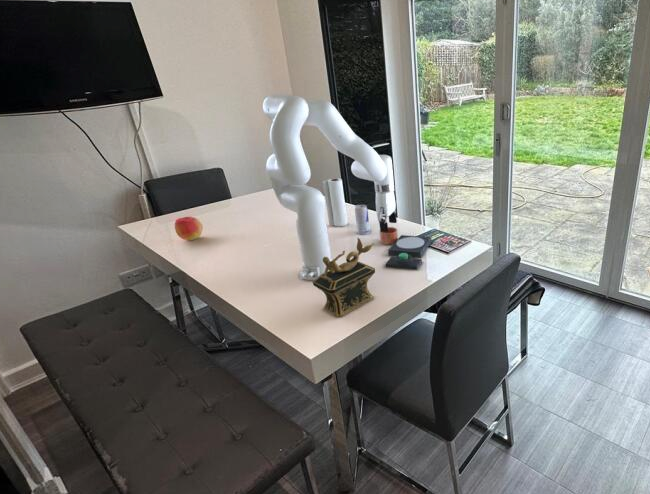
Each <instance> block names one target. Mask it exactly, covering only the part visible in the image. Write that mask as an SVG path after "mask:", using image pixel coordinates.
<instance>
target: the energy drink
mask: <svg viewBox="0 0 650 494" xmlns="http://www.w3.org/2000/svg"><path fill="white" fill-rule="evenodd" d="M354 215H355V224H356V230H357V234H359V235H367V234H369V233H370V232H371V228H370V227H371V226H370V219H369V209H368V206H367V204H356V205H355V206H354Z"/></svg>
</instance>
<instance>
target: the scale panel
mask: <svg viewBox="0 0 650 494" xmlns="http://www.w3.org/2000/svg"><path fill="white" fill-rule="evenodd" d="M422 263H423V259H421V258H414V257H412V256H411V255H409V254H408V259H406V260H400V259H399V255H398V256H390V257H389V259H388V260H387V261H386V262H385V268H392V269H402V270H403V269H404V270H415V271H417V270H418V269H419V268H420V266H421V265H422Z"/></svg>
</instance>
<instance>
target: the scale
mask: <svg viewBox="0 0 650 494" xmlns="http://www.w3.org/2000/svg"><path fill="white" fill-rule="evenodd" d="M431 244H432V237H431V236H421V235H420V236H418V235H405V234H401V235H400V236H398V239H397V241H396V242H395V243H394V244H391V245H390V248H388V250H387V251H388V256H390V257H396V256H398V255H399V254H401V253H407V254H409V255H411V256H412V258H414V259H421V258H422V257H423V256H424V254H425V253H426V251H427V250H428V248H429V247H430V245H431Z"/></svg>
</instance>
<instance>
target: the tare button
mask: <svg viewBox="0 0 650 494" xmlns="http://www.w3.org/2000/svg"><path fill="white" fill-rule="evenodd" d="M399 259H400V260H406V259H408V254H407V253H401V254H399Z"/></svg>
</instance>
